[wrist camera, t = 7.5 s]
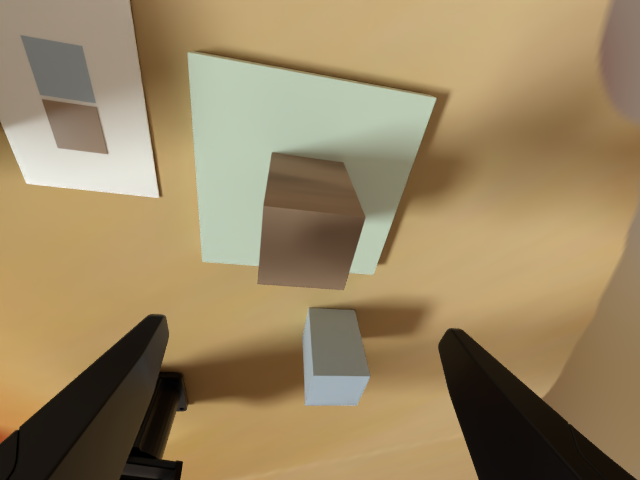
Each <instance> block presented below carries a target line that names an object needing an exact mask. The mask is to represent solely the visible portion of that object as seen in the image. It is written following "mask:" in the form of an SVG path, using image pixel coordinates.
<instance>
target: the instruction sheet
mask: <svg viewBox="0 0 640 480" xmlns="http://www.w3.org/2000/svg"><path fill="white" fill-rule="evenodd" d="M0 122H1V124H2V127H3V129H4V131H5V134H6V136H7V138H8V141H9V143H10V146H11V148H12V150H13V153H14V155H15V157H16V160H17V162H18V165H19V167H20V169H21V172H22V174H23V176H24V179H25V181H26V184H33V185H43V186H52V187H61V188H71V189H80V190H89V191H99V192H108V193H118V194H127V195H136V196H146V197H155V198H159V190H158V183H157V177H156V170H155V164H154V157H153V150H152V144H151V137H150V131H149V124H148V117H147V111H146V104H145V98H144V91H143V84H142V78H141V71H140V65H139V58H138V51H137V45H136V38H135V32H134V25H133V19H132V12H131V5H130V0H0Z"/></svg>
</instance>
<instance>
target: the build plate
mask: <svg viewBox="0 0 640 480" xmlns="http://www.w3.org/2000/svg"><path fill="white" fill-rule="evenodd" d="M187 54H188V68H189V82H190V96H191V110H192V124H193V138H194V152H195V166H196V180H197V194H198V208H199V222H200V236H201V250H202V262H212V263H225V264H238V265H251V266H259V257H260V244H261V230H262V217H263V205H264V198H265V192H266V186H267V179H268V173H269V167H270V160H271V154H272V152H273V153H280V154H287V155H294V156H301V157H308V158H315V159H322V160H329V161H336V162H343V163H344V165H345V167H346V170H347V172H348V175H349V177H350V180H351V182H352V184H353V187H354V189H355V192H356V194H357V197H358V199H359V202H360V204H361V207H362V209H363V212H364V214H365V217H366V218H365V222H364V225H363V228H362V232H361V235H360V238H359V242H358V245H357V248H356V252H355V255H354V258H353V261H352V265H351V268H350V271H349V273H357V274H370V275H374V272H375V269H376V266H377V263H378V261H379V258H380V255H381V252H382V249H383V247H384V244H385V241H386V238H387V236H388V233H389V230H390V227H391V224H392V222H393V219H394V216H395V213H396V210H397V208H398V205H399V202H400V199H401V196H402V194H403V191H404V188H405V185H406V182H407V180H408V177H409V174H410V171H411V169H412V166H413V163H414V160H415V157H416V155H417V152H418V149H419V146H420V143H421V141H422V138H423V135H424V132H425V129H426V127H427V124H428V121H429V118H430V116H431V113H432V110H433V107H434V104H435V102H436V99H437V98H436V97H433V96H431V95H429V94H423V93H418V92H412V91H407V90H402V89H396V88H391V87H385V86H380V85H375V84H369V83H364V82H358V81H353V80H348V79H342V78H337V77H331V76H326V75H321V74H315V73H310V72H304V71H299V70H294V69H288V68H283V67H277V66H272V65H266V64H261V63H256V62H250V61H245V60H239V59H234V58H229V57H223V56H218V55H212V54H207V53H202V52H196V51H191V52H187Z"/></svg>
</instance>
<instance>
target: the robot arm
mask: <svg viewBox="0 0 640 480" xmlns="http://www.w3.org/2000/svg"><path fill="white" fill-rule="evenodd" d="M168 338H169V330H168V325H167V320H166V316H165V315H161V314H150V315H148V316H147V317H146V318H144V319H143V320H142V321H141V322H140V323H139V324H138V325H136V326H135V327H134V328H133V329H132V330H131V331H129V332H128V333H127V334H126V335H125V336H124V337H123V338H121V339H120V340H119V341H118V342H117V343H116V344H115V345H113V346H112V347H111V348H110V349H109V350H108V351H106V352H105V353H104V354H103V355H102V356H101V357H100V358H98V359H97V360H96V361H95V362H94V363H93V364H92V365H90V366H89V367H88V368H87V369H86V370H85V371H83V372H82V373H81V374H80V375H79V376H78V377H77V378H75V379H74V380H73V381H72V382H71V383H70V384H69V385H67V386H66V387H65V388H64V389H63V390H62V391H60V392H59V393H58V394H57V395H56V396H55V397H54V398H52V399H51V400H50V401H49V402H48V403H47V404H45V405H44V406H43V407H42V408H41V409H40V410H39V411H37V412H36V413H35V414H34V415H33V416H32V417H31V418H29V419H28V420H27V421H26V422H25V423H24V424H22V425H21V426H20V428H19V430H16V431H14V432H13V433H12V434H11V435H10V436H8V437H7V438H6V439H5V440H4V441H3V442H2V443H0V480H180V478H181V472H182V465H183V461H169V460H162V457H163V454H164V450H165V447H166V444H167V440H168V437H169V434H170V430H171V427H172V424H173V420H174V417H175V414H176V411H186V410H187V406H188V403H187V397H186V391H185V385H184V379H183V375H181V374H177V373H159V372H160V368H161V364H162V361H163V357H164V353H165V350H166V346H167V343H168ZM438 348H439V354H440V358H441V362H442V366H443V370H444V374H445V378H446V383H447V387H448V390H449V394H450V397H451V400H452V403H453V406H454V409H455V412H456V415H457V418H458V421H459V424H460V427H461V429H462V432H463V435H464V438H465V441H466V444H467V447H468V450H469V453H470V456H471V458H472V461H473V464H474V467H475V470H476V473H477V476H478V479H479V480H637V479H635V478H634V477H633V476H632V475H630V474H629V473H628V472H626V471H625V470H624V469H623V468H622V467H620V466H619V465H618V464H617V463H615V462H614V461H613V460H612V459H610V458H609V457H608V456H607V455H606V454H604V453H603V452H602V451H601V450H600V449H599V448H597V447H596V446H595V445H594V444H593V443H592V442H590V441H589V440H588V439H587V438H586V437H584V436H583V435H582V434H581V433H580V432H579V431H577V430H576V429H575V428H574V427H573V426H572V425H571V424H568V422H567V421H566V420H565V419H563V417H561V416H560V415H559V414H558V413H557V412H556V411H555V410H553V409H552V408H551V407H550V406H549V405H548V404H546V403H545V402H544V401H543V400H542V399H541V398H540V397H539V396H537V395H536V394H535V393H534V392H533V391H532V390H531V389H529V388H528V387H527V386H526V385H525V384H524V383H523V382H521V381H520V380H519V379H518V378H517V377H516V376H515V375H513V374H512V373H511V372H510V371H509V370H508V369H507V368H505V367H504V366H503V365H502V364H501V363H500V362H499V361H497V360H496V359H495V358H494V357H493V356H492V355H491V354H489V353H488V352H487V351H486V350H485V349H484V348H482V347H481V346H480V345H479V344H478V343H477V342H476V341H474V340H473V339H472V338H471V337H470V336H469V335H468V334H466V333H465V332H464V331H463V330H461V329H456V328H449V329H448V330H447V331H446V332H445V334H444V336H443V337H442V339H441V340H440V342H439V346H438Z"/></svg>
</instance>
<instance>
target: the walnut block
mask: <svg viewBox="0 0 640 480" xmlns="http://www.w3.org/2000/svg"><path fill="white" fill-rule="evenodd" d="M365 218H366V217H365V214H364V212H363V209H362V207H361V204H360V202H359V199H358V197H357V194H356V192H355V189H354V187H353V184H352V182H351V180H350V177H349V175H348V172H347V170H346V167H345V165H344V163H343V162H336V161H329V160H322V159H315V158H308V157H301V156H294V155H287V154H280V153H273V152H272V154H271V160H270V167H269V173H268V179H267V186H266V192H265V198H264V205H263V217H262V230H261V244H260V257H259V271H258V284H263V285H278V286H292V287H306V288H321V289H335V290H344V288H345V285H346V281H347V278H348V275H349V271H350V268H351V265H352V261H353V258H354V255H355V252H356V248H357V245H358V242H359V238H360V235H361V232H362V228H363V225H364V222H365Z"/></svg>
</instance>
